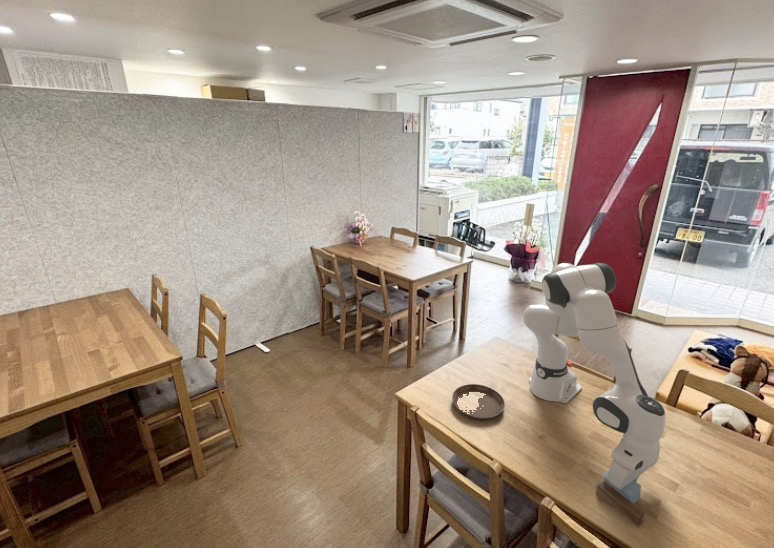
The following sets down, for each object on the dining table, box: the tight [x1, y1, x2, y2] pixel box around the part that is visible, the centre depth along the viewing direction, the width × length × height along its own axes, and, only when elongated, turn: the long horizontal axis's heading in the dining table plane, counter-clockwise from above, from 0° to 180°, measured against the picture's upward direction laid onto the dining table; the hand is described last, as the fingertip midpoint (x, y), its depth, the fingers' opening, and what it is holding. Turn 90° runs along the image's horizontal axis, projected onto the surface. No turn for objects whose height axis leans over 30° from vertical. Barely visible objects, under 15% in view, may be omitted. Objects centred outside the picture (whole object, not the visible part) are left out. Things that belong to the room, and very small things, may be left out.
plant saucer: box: [452, 383, 506, 421], centre depth 153 cm, size 21×21×3 cm
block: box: [602, 470, 642, 505], centre depth 112 cm, size 5×8×6 cm, turn 29°
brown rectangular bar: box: [595, 480, 646, 528], centre depth 109 cm, size 3×12×4 cm, turn 29°
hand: (630, 484), depth 115 cm, fingers closed
